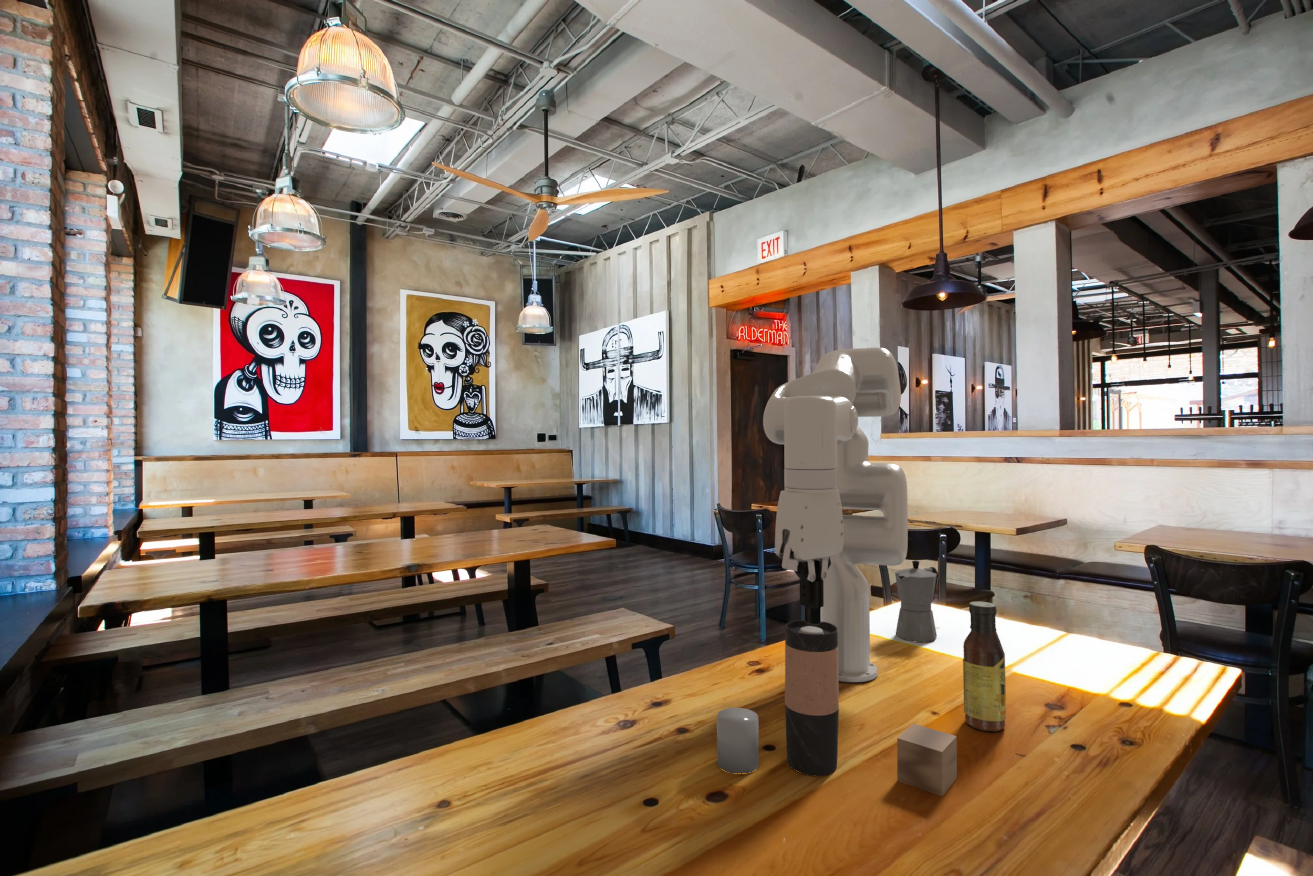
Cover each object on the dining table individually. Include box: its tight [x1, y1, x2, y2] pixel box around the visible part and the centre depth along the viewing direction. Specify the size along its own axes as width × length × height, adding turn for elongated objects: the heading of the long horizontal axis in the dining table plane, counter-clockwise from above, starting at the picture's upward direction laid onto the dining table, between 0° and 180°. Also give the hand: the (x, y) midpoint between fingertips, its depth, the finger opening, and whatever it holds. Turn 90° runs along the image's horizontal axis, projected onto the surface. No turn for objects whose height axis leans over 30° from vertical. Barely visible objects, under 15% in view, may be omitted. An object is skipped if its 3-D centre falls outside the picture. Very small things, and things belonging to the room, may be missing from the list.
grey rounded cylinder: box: [716, 707, 759, 774], centre depth 95 cm, size 6×6×7 cm
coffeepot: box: [894, 560, 939, 643], centre depth 155 cm, size 15×9×18 cm, turn 125°
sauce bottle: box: [962, 601, 1007, 733], centre depth 107 cm, size 7×6×20 cm
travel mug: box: [784, 619, 840, 777], centre depth 95 cm, size 8×8×20 cm
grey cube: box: [896, 723, 958, 797], centre depth 90 cm, size 6×6×6 cm
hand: (811, 605), depth 95 cm, fingers closed
